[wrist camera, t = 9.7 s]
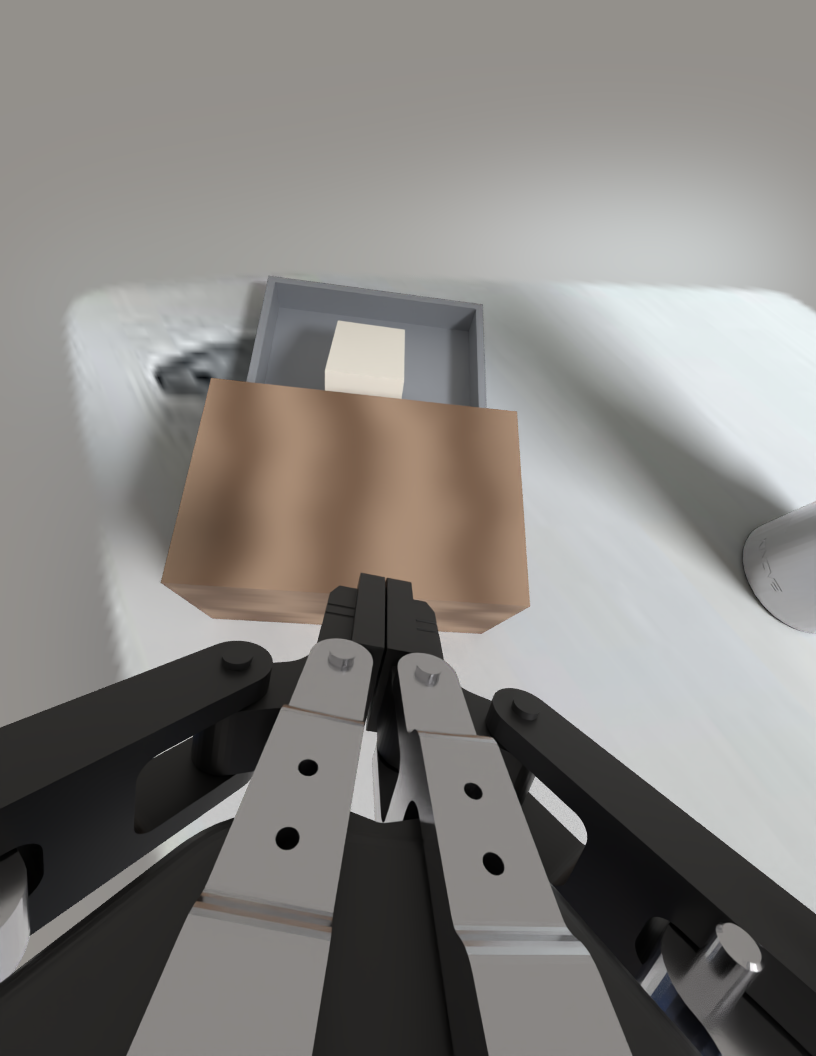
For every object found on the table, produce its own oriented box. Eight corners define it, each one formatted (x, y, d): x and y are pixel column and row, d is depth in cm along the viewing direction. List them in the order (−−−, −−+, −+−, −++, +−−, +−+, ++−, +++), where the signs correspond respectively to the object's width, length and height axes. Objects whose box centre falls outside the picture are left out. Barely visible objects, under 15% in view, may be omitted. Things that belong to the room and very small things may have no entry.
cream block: (395, 443, 33) (397, 389, 38) (404, 380, 29) (404, 329, 34) (324, 435, 32) (336, 382, 37) (324, 370, 28) (337, 320, 34)
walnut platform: (477, 480, 36) (516, 411, 28) (481, 633, 31) (529, 606, 23) (243, 458, 34) (211, 377, 26) (212, 618, 30) (160, 582, 21)
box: (473, 331, 42) (482, 304, 39) (477, 474, 36) (488, 455, 33) (273, 305, 40) (268, 275, 37) (244, 452, 34) (236, 430, 32)
